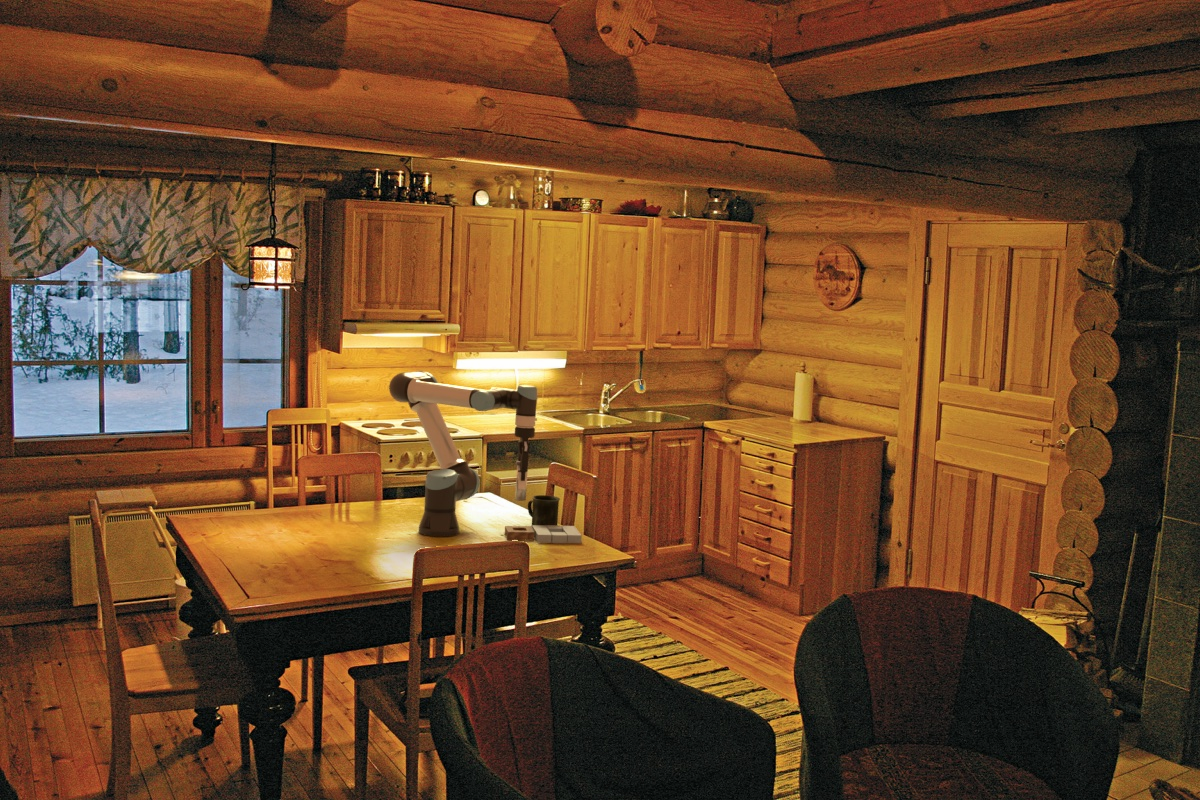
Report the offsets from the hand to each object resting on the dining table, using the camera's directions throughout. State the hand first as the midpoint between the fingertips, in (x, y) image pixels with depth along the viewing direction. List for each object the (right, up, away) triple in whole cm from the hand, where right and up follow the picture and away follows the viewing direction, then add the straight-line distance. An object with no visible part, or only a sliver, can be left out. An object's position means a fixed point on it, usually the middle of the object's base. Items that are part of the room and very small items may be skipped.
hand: (521, 487), depth 403 cm
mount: (-1, -19, +2) cm, 19 cm away
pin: (0, -5, 0) cm, 5 cm away
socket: (+13, -19, +3) cm, 24 cm away
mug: (+6, -18, +21) cm, 28 cm away
